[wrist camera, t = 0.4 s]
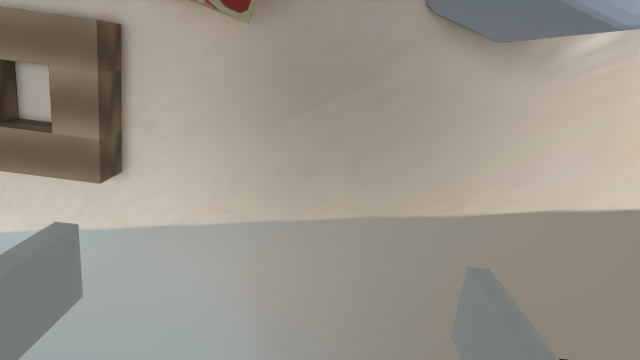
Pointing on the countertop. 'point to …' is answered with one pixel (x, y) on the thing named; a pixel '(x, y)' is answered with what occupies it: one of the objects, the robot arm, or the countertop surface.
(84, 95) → the socket block
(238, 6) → the milk carton
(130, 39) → the countertop surface
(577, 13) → the soap bottle
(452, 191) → the countertop surface
